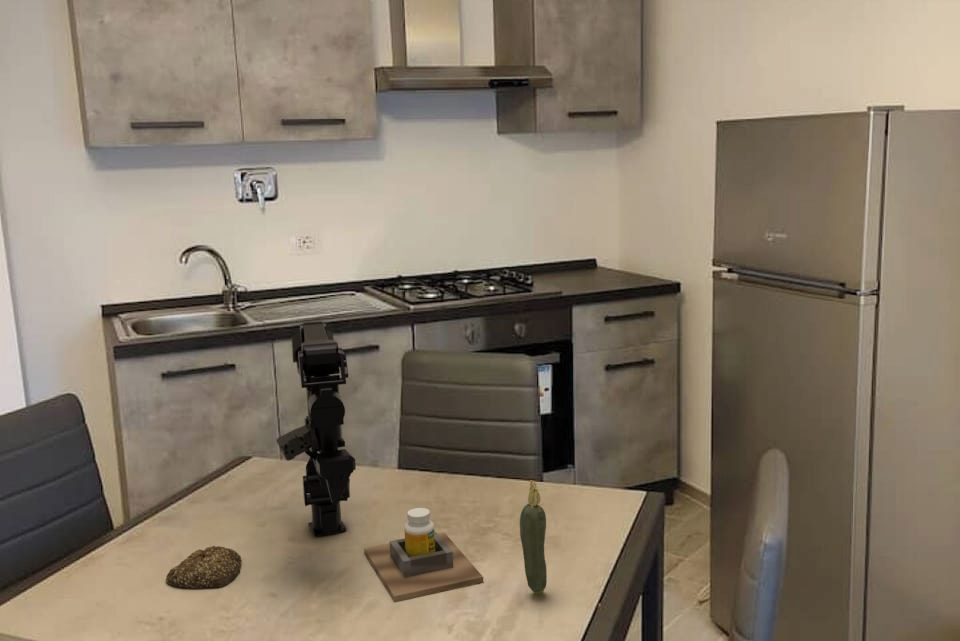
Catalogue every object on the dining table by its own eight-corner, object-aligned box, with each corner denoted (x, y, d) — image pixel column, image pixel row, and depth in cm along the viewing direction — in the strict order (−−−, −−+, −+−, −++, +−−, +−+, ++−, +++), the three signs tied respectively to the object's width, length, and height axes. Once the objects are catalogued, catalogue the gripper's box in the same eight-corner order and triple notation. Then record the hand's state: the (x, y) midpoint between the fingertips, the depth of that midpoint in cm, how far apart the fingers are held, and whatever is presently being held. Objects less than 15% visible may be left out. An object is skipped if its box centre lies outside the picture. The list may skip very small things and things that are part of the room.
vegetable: (545, 603, 144) (543, 488, 140) (519, 601, 145) (516, 487, 141) (549, 590, 148) (547, 478, 144) (523, 588, 149) (521, 477, 145)
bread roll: (223, 593, 151) (220, 566, 150) (157, 589, 153) (155, 562, 152) (255, 560, 163) (253, 535, 162) (194, 556, 166) (191, 531, 165)
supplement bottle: (408, 555, 160) (406, 505, 159) (437, 555, 160) (435, 506, 158) (403, 568, 155) (401, 517, 153) (433, 569, 155) (431, 518, 153)
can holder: (364, 553, 164) (363, 533, 163) (444, 537, 170) (443, 517, 169) (394, 601, 146) (393, 579, 145) (483, 582, 151) (482, 560, 151)
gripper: (270, 404, 161) (276, 485, 164) (287, 433, 144) (294, 522, 147) (330, 397, 165) (335, 475, 168) (353, 423, 148) (358, 510, 151)
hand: (329, 494), depth 158 cm, fingers open, 9 cm apart
